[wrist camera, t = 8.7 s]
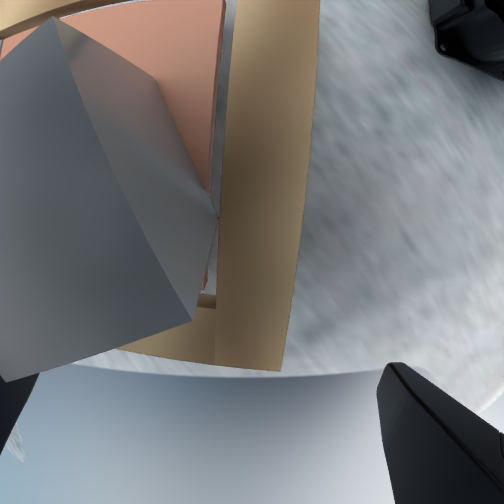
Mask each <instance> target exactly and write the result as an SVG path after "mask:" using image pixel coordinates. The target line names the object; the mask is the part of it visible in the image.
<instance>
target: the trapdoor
mask: <svg viewBox="0 0 504 504" xmlns="http://www.w3.org/2000/svg"><path fill="white" fill-rule="evenodd" d="M225 10H226V2H225V0H148V1H141V2H134V3H128V4H122V5H117V6H111V7H107V8H102V9H97V10H93V11H89V12H84V13H81V14H77V15H73V16H69V17H66V18H62V19H59V20H61V21H63V22H64V23H66V24H68V25H70V26H72V27H73V28H75V29H77V30H79V31H80V32H82V33H84V34H85V35H87V36H89V37H91V38H92V39H94V40H96V41H97V42H99V43H101V44H102V45H104V46H106V47H107V48H109V49H110V50H112V51H114V52H115V53H117V54H118V55H120V56H122V57H123V58H125V59H126V60H128V61H130V62H131V63H133V64H134V65H136V66H137V67H139V68H140V69H142V70H143V71H145V72H146V73H148V74H149V75H151V76H152V77H154V79H155V81H156V83H157V85H158V87H159V90H160V92H161V94H162V96H163V99H164V101H165V103H166V105H167V107H168V110H169V112H170V114H171V116H172V118H173V120H174V123H175V125H176V127H177V129H178V131H179V134H180V136H181V138H182V140H183V142H184V144H185V147H186V149H187V151H188V153H189V155H190V157H191V160H192V162H193V164H194V166H195V168H196V170H197V173H198V175H199V177H200V179H201V181H202V183H203V185H204V188H205V190H206V192H207V194H208V196H209V198H210V194H211V175H212V158H213V142H214V128H215V114H216V101H217V89H218V78H219V67H220V57H221V47H222V37H223V28H224V19H225ZM38 27H39V26H37V27H34V28H32V29H29V30H26V31H23V32H21V33H18V34H16V35H13V36H11V37H8V38H6V39H4V40H3V39H1V40H0V60H1V59H2V58H4V57H5V56H6V55H7V54H8V53H9V52H10V51H11V50H12V49H13V48H14V47H15V46H17V45H18V44H19V43H20V42H21V41H22V40H23V39H25V38H26V37H27V36H28V35H29V34H30V33H32V32H33V31H34V30H35V29H37V28H38ZM207 275H208V261H207V265H206V269H205V273H204V277H203V281H202V285H201V289H200V290H204V288H205V285H206V283H207Z"/></svg>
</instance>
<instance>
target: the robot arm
mask: <svg viewBox="0 0 504 504" xmlns="http://www.w3.org/2000/svg"><path fill="white" fill-rule="evenodd" d="M430 9H431V22H432V23H433V25H434V30H435V48H436V50H437V52H438V53H439V54H440V55H442V56H445V57H448V58H450V59H453V60H456V61H458V62H461V63H463V64H466V65H468V66H470V67H473V68H475V69H477V70H480V71H482V72H484V73H486V74H488V75H491V76H493V77H495V78H497V79H499V80H501V81H504V77H503V75H502V72H503V74H504V0H430ZM441 45H442V46H443V47H444V49H445V51H443V50H442V49H441V47H440V46H441ZM38 376H39V373H37V374H33V375H30V376H27V377H23V378H20V379H16V380H13V381H10V382H5V381H4V379H3V378H2V377H1V376H0V455H1V452H2V450H3V448H4V446H5V444H6V442H7V440H8V437H9V435H10V433H11V431H12V429H13V427H14V425H15V423H16V421H17V419H18V417H19V415H20V413H21V411H22V409H23V407H24V406H25V404H26V402H27V400H28V398H29V396H30V394H31V392H32V390H33V387H34V385H35V383H36V380H37V378H38ZM377 402H378V410H379V417H380V426H381V435H382V442H383V447H384V453H385V457H386V461H387V466H388V470H389V475H390V480H391V485H392V490H393V495H394V500H395V504H504V434H503V433H501V432H500V433H499V430H497V429H496V428H494V427H493V426H492V425H490V424H489V423H487V422H486V421H485V420H483V419H481V418H480V417H479V416H477V415H476V414H475V413H473V412H472V411H471V410H469V409H468V408H466V407H465V406H464V405H462V404H461V403H459V402H458V401H456V400H455V399H454V398H452V397H451V396H449V395H448V394H447V393H445V392H444V391H442V390H441V389H440V388H438V387H437V386H435V385H434V384H433V383H431V382H430V381H428V380H427V379H426V378H424V377H423V376H421V375H420V374H419V373H417V372H416V371H414V370H413V369H412V368H410V367H409V366H407V365H406V364H405V363H402V362H390V363H388V364H387V365H386V367H385V369H384V371H383V374H382V377H381V379H380V382H379V384H378V387H377Z"/></svg>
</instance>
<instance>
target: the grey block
mask: <svg viewBox="0 0 504 504" xmlns="http://www.w3.org/2000/svg"><path fill="white" fill-rule="evenodd" d="M218 219H219V217H218V215H217V213H216V211H215V209H214V207H213V205H212V202H211V200H210V198H209V196H208V194H207V192H206V190H205V188H204V185H203V183H202V181H201V179H200V177H199V175H198V173H197V170H196V168H195V166H194V164H193V162H192V160H191V157H190V155H189V153H188V151H187V149H186V147H185V144H184V142H183V140H182V138H181V136H180V134H179V131H178V129H177V127H176V125H175V123H174V120H173V118H172V116H171V114H170V112H169V110H168V107H167V105H166V103H165V101H164V99H163V96H162V94H161V92H160V90H159V87H158V85H157V83H156V81H155V79H154V77H152V76H151V75H149V74H148V73H146V72H145V71H143V70H142V69H140V68H139V67H137V66H136V65H134V64H133V63H131V62H130V61H128V60H126V59H125V58H123V57H122V56H120V55H118V54H117V53H115V52H114V51H112V50H110V49H109V48H107V47H106V46H104V45H102V44H101V43H99V42H97V41H96V40H94V39H92V38H91V37H89V36H87V35H85V34H84V33H82V32H80V31H79V30H77V29H75V28H73V27H72V26H70V25H68V24H66V23H64V22H63V21H61V20H59V19H57V18H55V17H53V16H52V17H51V18H49V19H48V20H47V21H45V22H44V23H43V24H42V25H40V26H39V27H38V28H37V29H35V30H34V31H33V32H32V33H30V34H29V35H28V36H27V37H26V38H25V39H23V40H22V41H21V42H20V43H19V44H18V45H17V46H15V47H14V48H13V49H12V50H11V51H10V52H9V53H8V54H7V55H6V56H5V57H4V58H2V59H1V60H0V376H1V377H2V378H3V379H4V381H5V382H10V381H13V380H16V379H20V378H23V377H27V376H30V375H33V374H37V373H40V372H43V371H46V370H50V369H53V368H56V367H59V366H62V365H66V364H69V363H72V362H75V361H78V360H81V359H84V358H87V357H91V356H94V355H97V354H100V353H103V352H106V351H109V350H112V349H115V348H117V347H120V346H123V345H126V344H129V343H132V342H135V341H138V340H141V339H144V338H146V337H149V336H152V335H155V334H158V333H160V332H163V331H166V330H169V329H172V328H174V327H177V326H180V325H183V324H185V323H188V322H191V321H193V318H194V314H195V310H196V305H197V301H198V297H199V293H200V289H201V285H202V281H203V277H204V273H205V269H206V265H207V261H208V257H209V253H210V250H211V246H212V242H213V238H214V234H215V230H216V227H217V223H218Z"/></svg>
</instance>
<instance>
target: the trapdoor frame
mask: <svg viewBox="0 0 504 504" xmlns="http://www.w3.org/2000/svg"><path fill="white" fill-rule="evenodd" d="M125 1H131V0H0V40H1V39H3V40H4V39H6V38H8V37H11V36H13V35H16V34H18V33H21V32H23V31H26V30H29V29H32V28H34V27H37V26H40V25H42V24H43V23H44V22H45V21H47V20H48V19H49V18H51V17H52V16H53V17H55V18H57V19H60V18H61V17H64V16H67V15H71V14H74V13H78V12H81V11H85V10H89V9H93V8H97V7H101V6H106V5H110V4H115V3H120V2H125ZM319 14H320V0H237V3H236V12H235V22H234V31H233V41H232V52H231V62H230V73H229V85H228V97H227V109H226V122H225V135H224V150H223V165H222V181H221V199H220V217H219V238H218V262H217V289H216V295H208V294H199V297H198V301H197V305H196V310H195V314H194V318H193V321H191V322H188V323H185V324H183V325H180V326H177V327H174V328H172V329H169V330H166V331H163V332H160V333H158V334H155V335H152V336H149V337H146V338H144V339H141V340H138V341H135V342H132V343H129V344H126V345H123V346H120V347H117V348H115V349H119V350H124V351H129V352H134V353H140V354H145V355H150V356H156V357H162V358H168V359H174V360H181V361H187V362H194V363H201V364H209V365H217V366H225V367H234V368H244V369H255V370H266V371H280V372H281V366H282V360H283V354H284V348H285V342H286V336H287V329H288V323H289V317H290V310H291V303H292V296H293V290H294V283H295V275H296V268H297V261H298V253H299V245H300V237H301V229H302V221H303V213H304V204H305V195H306V186H307V177H308V167H309V157H310V146H311V136H312V124H313V112H314V100H315V86H316V71H317V55H318V37H319Z"/></svg>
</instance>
